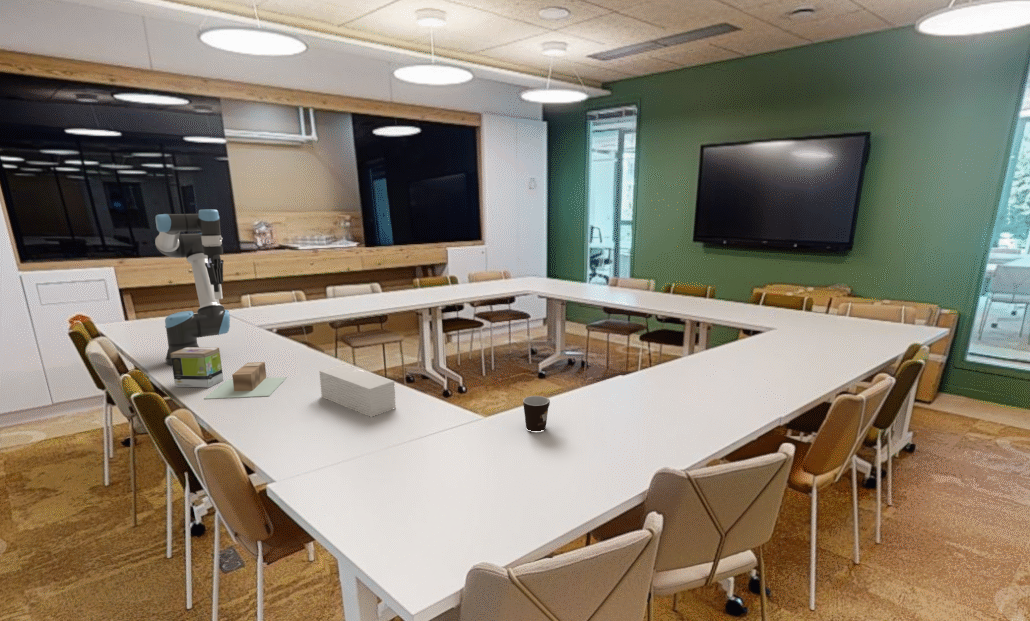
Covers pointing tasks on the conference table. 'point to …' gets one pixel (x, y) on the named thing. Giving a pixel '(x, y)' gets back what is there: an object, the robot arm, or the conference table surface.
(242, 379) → the walnut block
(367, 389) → the stack of papers
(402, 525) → the conference table surface
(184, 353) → the tea box
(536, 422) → the coffee mug
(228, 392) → the mat
